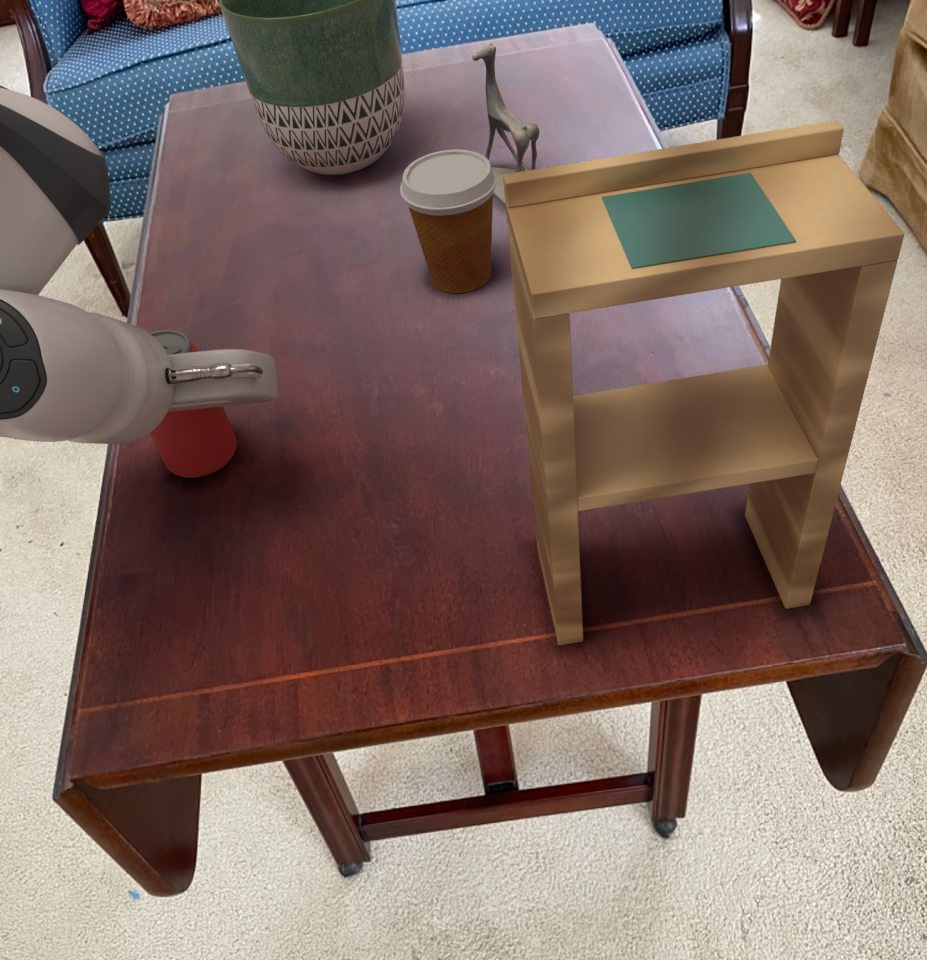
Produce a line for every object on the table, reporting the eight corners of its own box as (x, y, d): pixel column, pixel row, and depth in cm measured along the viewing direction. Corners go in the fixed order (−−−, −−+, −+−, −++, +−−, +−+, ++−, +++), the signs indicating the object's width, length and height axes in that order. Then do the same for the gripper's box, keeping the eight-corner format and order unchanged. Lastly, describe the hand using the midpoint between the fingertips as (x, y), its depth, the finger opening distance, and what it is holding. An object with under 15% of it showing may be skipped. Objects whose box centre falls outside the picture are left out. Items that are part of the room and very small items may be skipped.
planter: (429, 121, 125) (402, -56, 109) (410, 198, 111) (377, 9, 96) (288, 131, 127) (243, -40, 112) (253, 207, 114) (197, 25, 99)
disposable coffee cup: (424, 311, 96) (405, 205, 87) (410, 261, 102) (391, 158, 94) (515, 291, 96) (505, 184, 87) (495, 243, 103) (484, 139, 94)
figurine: (556, 198, 108) (550, 67, 97) (502, 211, 107) (490, 81, 96) (527, 156, 115) (518, 30, 104) (476, 168, 114) (462, 42, 104)
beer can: (231, 479, 82) (186, 373, 73) (158, 484, 82) (105, 379, 74) (244, 427, 86) (203, 321, 78) (175, 432, 87) (127, 328, 78)
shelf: (558, 645, 66) (529, 267, 44) (537, 548, 73) (502, 174, 50) (810, 605, 66) (912, 205, 44) (767, 511, 72) (837, 119, 50)
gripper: (245, 321, 65) (295, 345, 79) (-35, 351, 67) (62, 369, 81) (253, 411, 65) (302, 420, 79) (-27, 439, 67) (69, 442, 81)
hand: (179, 394), depth 80 cm, fingers closed on beer can, 6 cm apart
